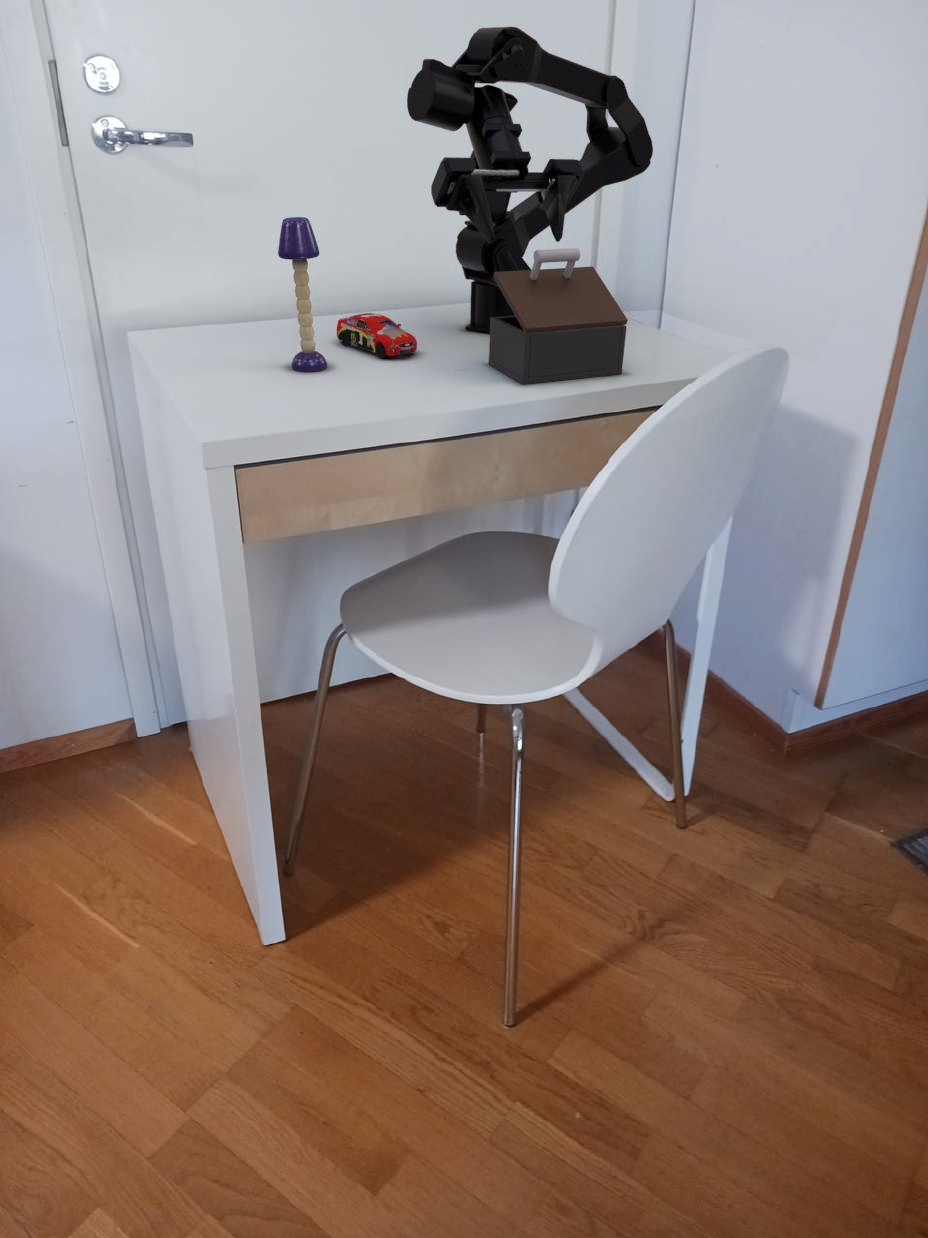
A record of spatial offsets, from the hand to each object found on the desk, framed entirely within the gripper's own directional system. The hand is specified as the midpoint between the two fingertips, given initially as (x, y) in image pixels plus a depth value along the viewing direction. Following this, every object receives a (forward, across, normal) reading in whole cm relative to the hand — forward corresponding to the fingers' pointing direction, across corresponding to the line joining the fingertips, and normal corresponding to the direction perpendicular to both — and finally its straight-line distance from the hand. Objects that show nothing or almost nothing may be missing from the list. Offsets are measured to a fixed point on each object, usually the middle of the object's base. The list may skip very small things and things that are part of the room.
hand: (526, 240), depth 116 cm
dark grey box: (+16, -1, -4) cm, 16 cm away
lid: (+10, -1, +2) cm, 10 cm away
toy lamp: (+8, +27, -12) cm, 31 cm away
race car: (+4, +16, -16) cm, 23 cm away
